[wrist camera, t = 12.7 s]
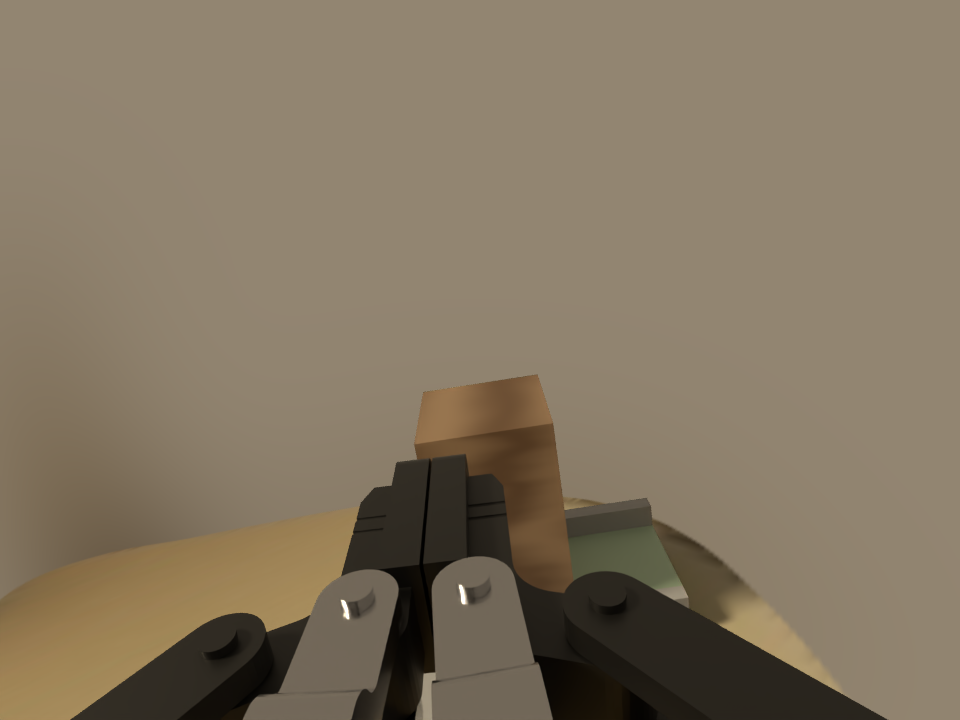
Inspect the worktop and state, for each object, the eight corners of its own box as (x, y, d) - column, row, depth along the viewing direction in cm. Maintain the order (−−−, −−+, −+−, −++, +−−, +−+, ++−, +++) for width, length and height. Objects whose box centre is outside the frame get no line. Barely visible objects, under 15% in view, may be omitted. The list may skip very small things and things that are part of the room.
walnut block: (454, 633, 35) (414, 444, 31) (456, 556, 41) (423, 392, 37) (578, 616, 34) (552, 423, 30) (559, 541, 41) (537, 374, 37)
